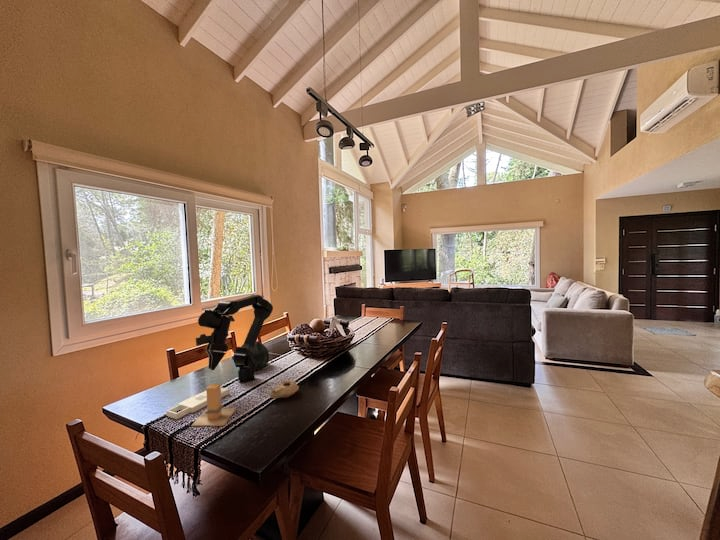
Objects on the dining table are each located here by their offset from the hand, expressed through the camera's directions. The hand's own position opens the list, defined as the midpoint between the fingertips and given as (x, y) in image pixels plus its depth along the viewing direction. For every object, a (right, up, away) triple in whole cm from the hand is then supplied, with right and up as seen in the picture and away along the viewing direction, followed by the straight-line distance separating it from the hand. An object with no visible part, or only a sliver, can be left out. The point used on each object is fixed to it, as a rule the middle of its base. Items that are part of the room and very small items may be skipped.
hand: (211, 369), depth 119 cm
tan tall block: (+8, -12, -13) cm, 20 cm away
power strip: (-3, -13, -4) cm, 13 cm away
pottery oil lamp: (+29, -12, +2) cm, 31 cm away
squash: (+5, -11, +34) cm, 36 cm away
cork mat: (+8, -13, -13) cm, 20 cm away
